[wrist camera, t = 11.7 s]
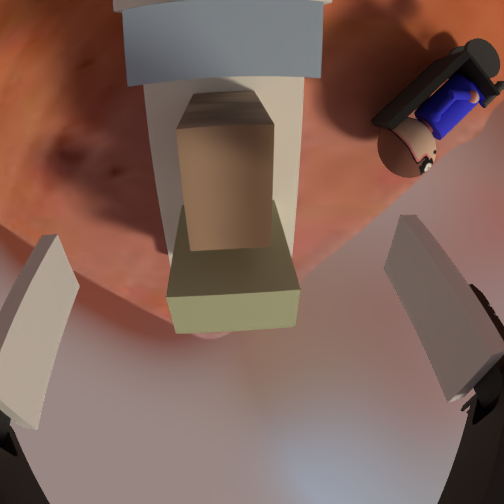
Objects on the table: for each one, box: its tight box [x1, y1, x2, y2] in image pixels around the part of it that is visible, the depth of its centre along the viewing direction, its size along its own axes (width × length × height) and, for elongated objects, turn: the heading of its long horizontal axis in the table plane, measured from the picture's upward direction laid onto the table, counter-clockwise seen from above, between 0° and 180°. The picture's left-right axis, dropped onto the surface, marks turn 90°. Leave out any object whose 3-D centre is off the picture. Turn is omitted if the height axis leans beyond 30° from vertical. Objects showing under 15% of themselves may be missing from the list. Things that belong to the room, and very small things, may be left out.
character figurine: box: [371, 38, 504, 178], centre depth 21 cm, size 8×7×15 cm
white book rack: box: [113, 0, 332, 265], centre depth 23 cm, size 12×24×8 cm, turn 0°
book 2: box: [176, 91, 274, 251], centre depth 20 cm, size 4×7×10 cm, turn 0°
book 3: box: [166, 200, 300, 334], centre depth 24 cm, size 8×4×11 cm, turn 90°
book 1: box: [122, 0, 323, 87], centre depth 15 cm, size 8×4×11 cm, turn 90°
